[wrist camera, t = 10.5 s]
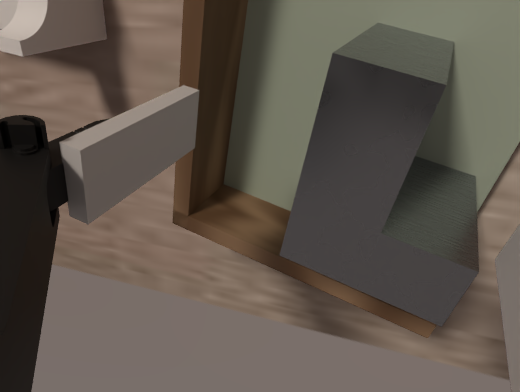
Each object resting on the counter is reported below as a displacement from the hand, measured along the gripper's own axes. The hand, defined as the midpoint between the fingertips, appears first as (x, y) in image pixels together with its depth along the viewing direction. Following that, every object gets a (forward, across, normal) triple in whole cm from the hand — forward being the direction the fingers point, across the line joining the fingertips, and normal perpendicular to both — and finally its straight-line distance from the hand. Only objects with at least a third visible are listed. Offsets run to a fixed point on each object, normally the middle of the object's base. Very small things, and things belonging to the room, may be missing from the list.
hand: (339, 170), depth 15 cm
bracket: (+10, +1, -1) cm, 10 cm away
